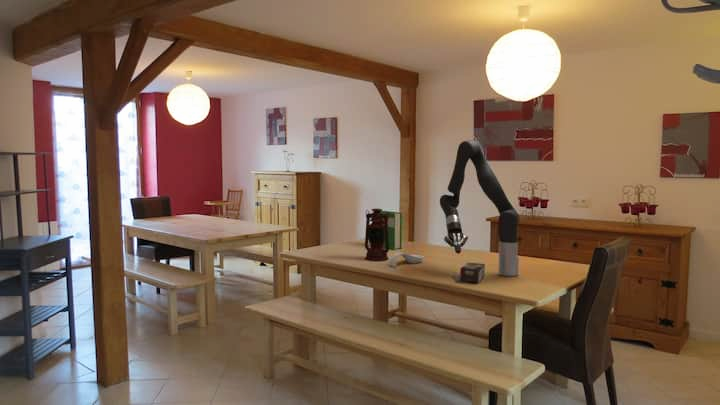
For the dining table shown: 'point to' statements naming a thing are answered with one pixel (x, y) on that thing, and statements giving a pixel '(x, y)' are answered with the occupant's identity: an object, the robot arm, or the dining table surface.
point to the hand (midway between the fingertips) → (458, 252)
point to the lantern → (377, 236)
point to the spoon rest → (406, 256)
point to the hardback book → (394, 230)
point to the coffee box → (472, 272)
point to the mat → (458, 278)
